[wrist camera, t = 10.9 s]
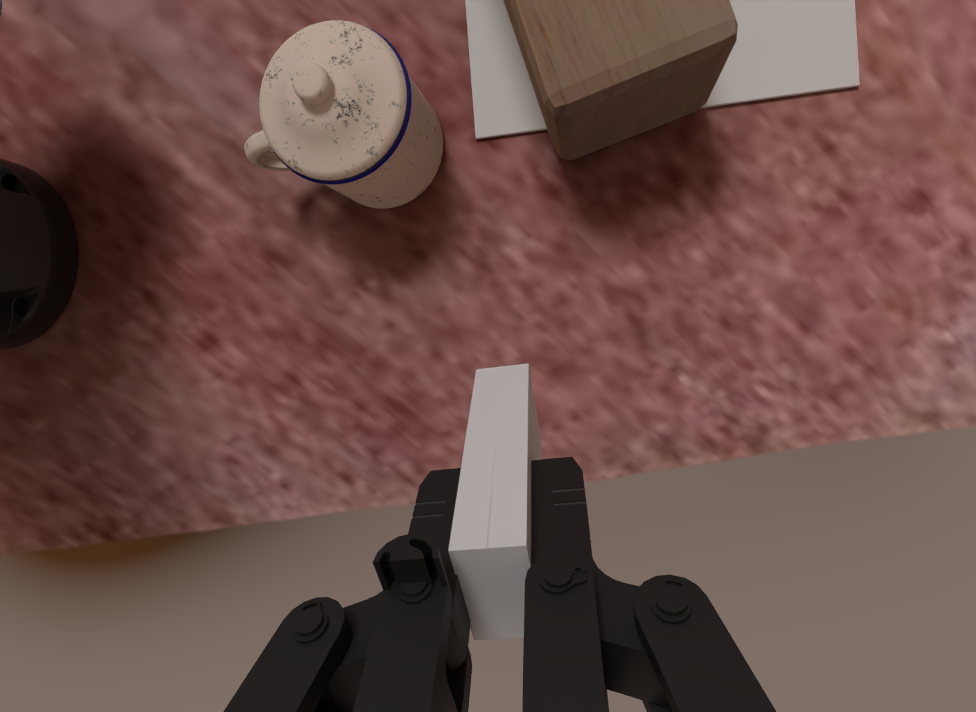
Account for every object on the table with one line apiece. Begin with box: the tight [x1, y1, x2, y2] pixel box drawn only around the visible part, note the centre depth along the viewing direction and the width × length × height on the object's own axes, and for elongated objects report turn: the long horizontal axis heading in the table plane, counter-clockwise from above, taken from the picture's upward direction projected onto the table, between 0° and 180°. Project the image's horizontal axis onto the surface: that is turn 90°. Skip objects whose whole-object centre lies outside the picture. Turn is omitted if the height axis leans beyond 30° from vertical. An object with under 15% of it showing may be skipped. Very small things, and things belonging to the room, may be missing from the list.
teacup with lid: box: [244, 20, 443, 209], centre depth 37 cm, size 12×9×12 cm
